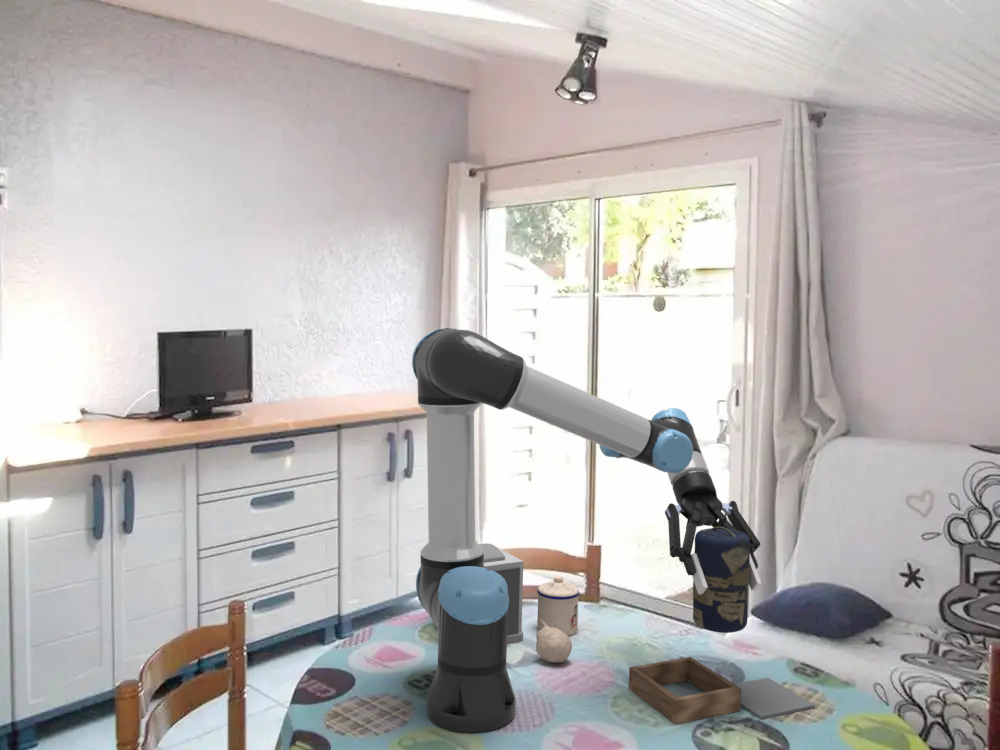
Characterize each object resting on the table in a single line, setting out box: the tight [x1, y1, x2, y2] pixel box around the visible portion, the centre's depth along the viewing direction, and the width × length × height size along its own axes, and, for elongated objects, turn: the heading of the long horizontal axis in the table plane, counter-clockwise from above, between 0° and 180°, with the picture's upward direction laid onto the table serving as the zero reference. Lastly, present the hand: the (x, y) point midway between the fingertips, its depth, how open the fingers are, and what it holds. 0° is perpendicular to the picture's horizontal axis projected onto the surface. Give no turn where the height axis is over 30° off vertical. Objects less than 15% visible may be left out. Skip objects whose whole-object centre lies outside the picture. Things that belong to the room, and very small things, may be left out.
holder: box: [628, 656, 741, 725], centre depth 150 cm, size 14×14×4 cm
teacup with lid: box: [536, 575, 581, 637], centre depth 184 cm, size 12×9×12 cm
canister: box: [692, 527, 750, 634], centre depth 150 cm, size 10×10×18 cm
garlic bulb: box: [535, 620, 573, 664], centre depth 166 cm, size 7×6×8 cm
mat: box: [734, 677, 816, 720], centre depth 152 cm, size 12×12×1 cm
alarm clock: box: [478, 542, 524, 645], centre depth 180 cm, size 18×13×18 cm
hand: (730, 588), depth 147 cm, fingers closed on canister, 9 cm apart
